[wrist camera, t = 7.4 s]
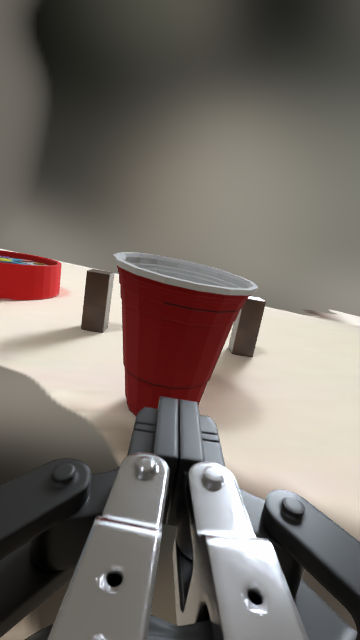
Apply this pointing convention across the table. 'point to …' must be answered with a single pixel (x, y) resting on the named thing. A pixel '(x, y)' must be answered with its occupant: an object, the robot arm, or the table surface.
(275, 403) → the table surface
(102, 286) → the post
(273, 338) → the table surface
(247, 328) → the post
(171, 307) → the plastic cup
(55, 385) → the table surface
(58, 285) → the toy clock
